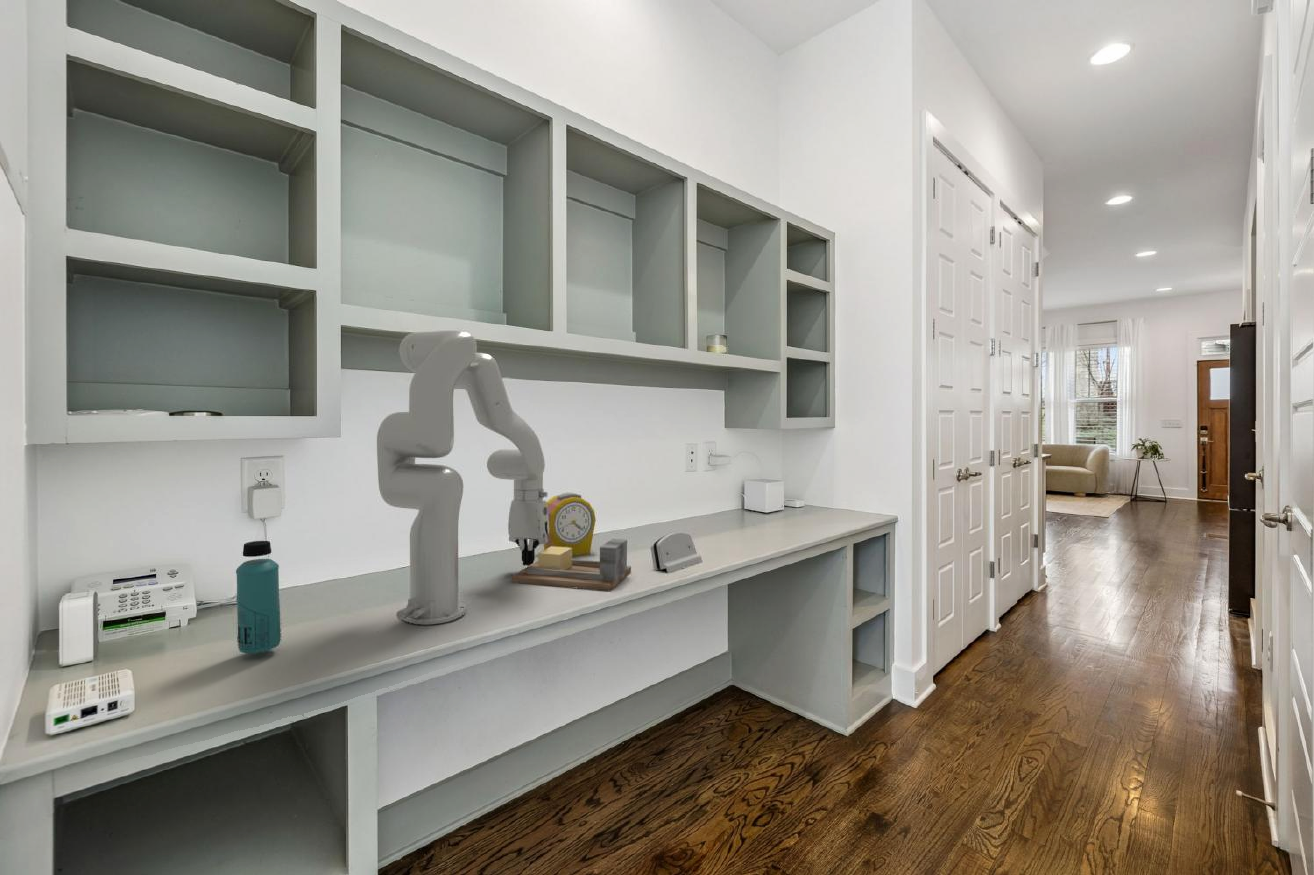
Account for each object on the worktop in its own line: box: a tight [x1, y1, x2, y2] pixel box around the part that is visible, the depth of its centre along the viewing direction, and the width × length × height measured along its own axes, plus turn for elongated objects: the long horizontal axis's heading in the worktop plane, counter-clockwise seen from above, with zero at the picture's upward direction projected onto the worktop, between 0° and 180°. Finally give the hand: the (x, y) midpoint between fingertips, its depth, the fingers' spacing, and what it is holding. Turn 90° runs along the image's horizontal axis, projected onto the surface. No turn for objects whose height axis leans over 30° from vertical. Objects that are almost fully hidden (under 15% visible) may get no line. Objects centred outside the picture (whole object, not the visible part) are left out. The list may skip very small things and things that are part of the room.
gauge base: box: [510, 538, 632, 592], centre depth 155 cm, size 18×26×10 cm
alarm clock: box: [542, 492, 597, 557], centre depth 180 cm, size 15×8×18 cm, turn 123°
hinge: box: [650, 532, 703, 574], centre depth 168 cm, size 17×5×10 cm, turn 142°
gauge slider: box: [537, 546, 573, 570], centre depth 159 cm, size 13×6×5 cm, turn 166°
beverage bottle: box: [235, 540, 282, 654], centre depth 104 cm, size 6×7×20 cm
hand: (528, 564), depth 158 cm, fingers closed
